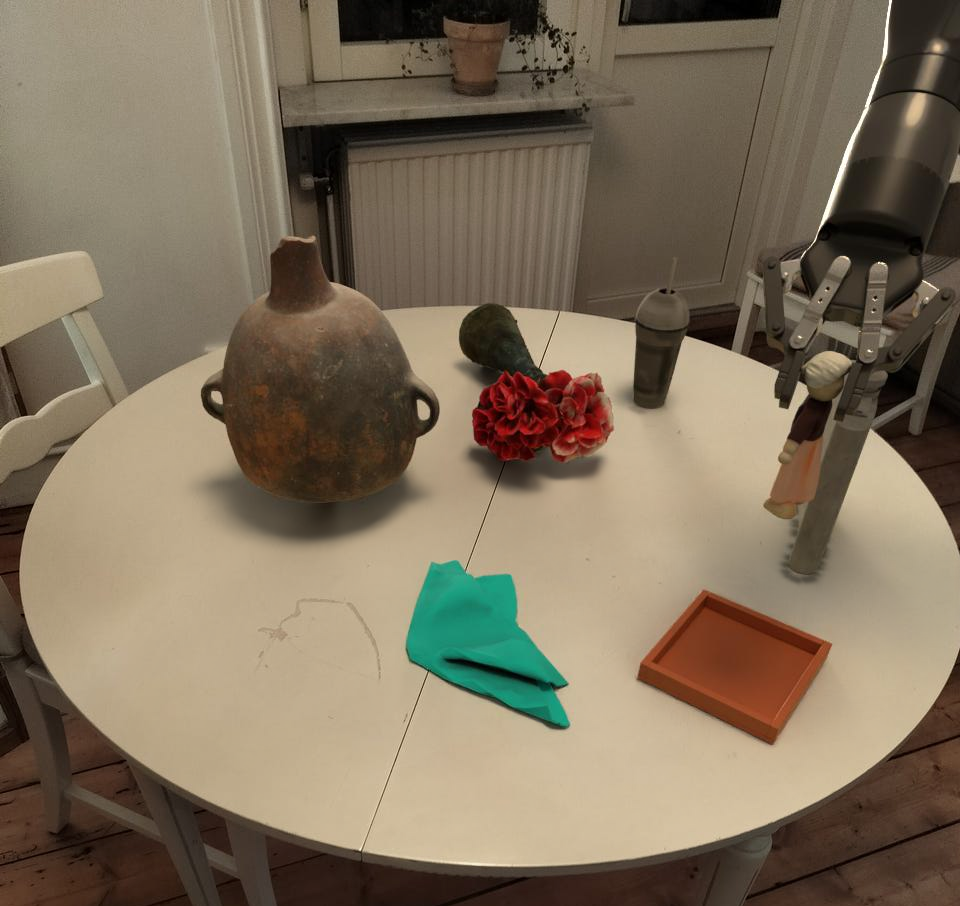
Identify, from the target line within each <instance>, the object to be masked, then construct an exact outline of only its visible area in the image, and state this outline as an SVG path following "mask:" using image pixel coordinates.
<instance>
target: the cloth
mask: <svg viewBox="0 0 960 906" xmlns="http://www.w3.org/2000/svg"><path fill="white" fill-rule="evenodd" d="M516 591H517V590H516V586H515V583H514V579H513V577H512V574H509V573H501V574H488V575H481V576H477V577H474V575H473V574H471V573H470V574H468V573H467V572H466V570H465V568H464V567H463V566H462V564H461V563H460V561H459V560H457V559H455V560H454V559H453V560H450V561H447V562H443V563H437V562H433V561H431V562H430V564H429V567H428V570H427V573H426V576H425V578H424V581H423V584H422V586H421V589H420V592H419V595H418V597H417V600H416V603H415V606H414V610H413V613H412V616H411V620H410V624H409V628H408V632H407V636H406V645H405V646H406V649H407V653H408V656H409V660H411V661H412V662H415V663H416V662H417V663H416V664H418V665H420V666H421V665H422V666H421V667H423V668H425V669H427V668H428V669H429V670H428V669H427V670H428V671H430V670H431V671H430V672H431V673H433V674H435V675H437V676H439V677H440V678H442V679H444V680H447V681H449V682H452V683H454V684H457V685H460V686H462V687H464V688H467V689H470V690H472V691H474V692H476V693H478V694H481V695H485V696H488V697H491V698H493V699H494V698H495V699H497V700H499V701H500V702H502V703H504V704H506V705H508V706H509V707H511V708H513V709H516V710H519V711H522V712H523V713H526V714H529V715H531V716H534V717H538V718H540V719H541V720H545V721H547V722H550V723H553V724H556V725H558V726H561V727H563V728H568V727H570V726H571V723H570V720H569V717H568V715H567V713H566V710H565V708H564V707H563V705H562V703H561V701H560V699H559V697H558V696H557V694H556V692H555V690H554V688H553V687H552V685H554V686H555V687H557V688H559V687H564V686H568V685H570V683H569V682H568V680H566V678H565V677H564V676H563V675H562V674H561V673H560V671H558V669H557V668H556V667H555V666H554V664H553V663H551V661H550V660H549V659H548V658H547V657H546V656H545V654H544V653H543V652H542V651H541V650H540V649H539V647H538V646H537V645H536V644H535V642H534V641H533V640H532V638H531V636H529V634H528V633H527V632H526V631H525V630H524V629H522V628H521V627H519V623H518V622H517V615H518V597H517V592H516ZM551 684H552V685H551Z"/></svg>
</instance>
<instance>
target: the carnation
mask: <svg viewBox="0 0 960 906" xmlns="http://www.w3.org/2000/svg"><path fill="white" fill-rule="evenodd" d="M458 344H459V348H460V350H461V353H462V354H463V355H464V356H465V357H466V358H467V359H468V360H470V362H472V363H474V364H476V365H480V366H483V367H486V368H489V369H491V370H494V371H496V372H502V374H501V375H500V376H499V377H498V379H497V380H496V382H494V383H490V384H489V385H486V386H485V387H484V388H483V389H482V391H481V392H480V395H479V397H478V403H477V406H476V407H474V408H473V409H472V411H471V412H472V413H471V416H472V420H471V422H472V428H473V429H472V431H473V441H475V443H476V444H477V445H478V446H479V447H487V449H488V450H489V451H491V452H492V453H493V454H495V455H496V457H497V458H498V459H499V460H500V461H502V462H509V461H510V460H514V459H517V460H522V461H524V462H528V461H530V460H534V459H538V457H537V456H536V453H538V452H540V451H541V450H542V449H543V448H549V449H550V453H551V455H552V457H553V458H554V459H555V461H557V462H560V463H563V464H564V463H568V462H570V461H572V460H574V459H576V458H578V457H579V458H580V457H582V456H584V457H590V456H593V455H594V454H595V453H596V452H597V451H598V450H600V449H601V448H603V447H604V446H605V444H606V443H607V442H608V439H609V436H610V435H611V433H613V432H614V430H615V426H614V419H615V418H614V413H613V405H612V401H611V399H610V397H609V396H607V394H606V393H605V388H604V384H603V381H602V377H601V375H599V373H598V372H589V373H587V374H585V375H580V376H575V377H572V376H571V374H570V373H569V372H567V370H564V369H560V370H557V371H552V372H551V371H550V372H549V373H548V374H547V373H545V372H544V371H543V370H542V369H541V368H540V367H538V366H537V365H536V364H535V361H534V360H533V358H532V355H531V353H530V350H529V348H528V346H527V344H526V341H525V338H524V337H523V335H522V332H521V330H520V328H519V325H518V319H516V318H515V317H514V315H513V313H512V312H511V310H510V309H508V308H507V307H506V306H505V305H503V304H499V303H494V302H485V303H483V304H481V305H479V306H477V307H476V308H474V309H472V310H471V311H469V312H468V313H467V315H465V316H464V318H463V319H462V321H461V323H460V327H459V330H458Z"/></svg>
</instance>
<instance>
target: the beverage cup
mask: <svg viewBox="0 0 960 906" xmlns="http://www.w3.org/2000/svg"><path fill="white" fill-rule="evenodd" d="M677 263H678V257H673V258H672V262H671V268H670V273H669V276H668V277H669V278H668V282H667V287H662V288H657V289H655V290H652V291H651V292H650V293H648V294H646V296H645V297H644V298H643V299H642V301H641V302H640V303H639V306H638V307H637V310H636V314H635V316H634V323H635V324H634V329H635V349H634V350H635V351H634V364H633V381H632V402H633V403H634V404H635V405H637V406H638V407H641V408H644V409H658V408H662V407H663V406H664V405H665V403H666V399H667V396H668V393H669V391H670V387H671V383H672V379H673V377H674V373H675V368H676V365H677V363H678V359H679V354H680V352H681V351H680V350H681V347H682V344H683V341H684V339H685V337H686V334H687V332H688V329H689V327H690V325H691V324H690V323H691V322H690V309H689V305H688V302H687V300H686V298H685V297H684V296H683V294H681V293H680V292H678V291H677V290H676V289H673V288H672V286H673V282H674V276H675V271H676V267H677Z"/></svg>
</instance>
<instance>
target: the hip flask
mask: <svg viewBox="0 0 960 906" xmlns="http://www.w3.org/2000/svg"><path fill="white" fill-rule="evenodd" d="M849 360H850V361H851V363H853V362H854V363H855V362H856V359H849ZM848 374H849V373H848ZM848 374H846V375H845V376H844V386H845V383H846V380H847V377H848ZM888 377H889V375H888V372H887V371H886V370H885V371H877V372H875V373H873V374H872V375H871V376H870V377H869V379H868V382H867V385H866V387H865V390H864V393H863V396H862V399H861V402H860V405H859V407H858V410H857V411H856V412H855V414H854V415H853V416H851V415H846V414H845V417H844V420H843V422H840V421H836V420H833V419H834V415H835V412H836V409H837V406H838V403H839V400H840V397H841V394H842V391H843V389H842V391H841V393H840V394H839V395H838V396H837V397H836V398H834V399H832V409H831V412H830V415H829V417H828V420H827V423H826V425H825V430H824V433H823V447H822V454H821V466H820V473H819V479H818V485H817V489H816V493H815V497H814V499H813V500H811V501H809V502H806V503H804V504H801V505H796V508H797V514H798V530H797V534H796V537H795V540H794V543H793V545H792V549H791V551H790V554H789V558H788V560H787V564H788V567H789V568H790V569H791V570H793V571H794V572H796V573H798V574H801V575H802V574H803V575H811V574H814V573H816V572H818V569H819V567H820V566H821V563H822V560H823V558H824V556H825V553H826V550H827V547H828V544H829V542H830V539H831V536H832V533H833V530H834V528H835V525H836V522H837V520H838V517H839V515H840V512H841V509H842V506H843V503H844V500H845V498H846V495H847V493H848V490H849V487H850V484H851V482H852V479H853V476H854V473H855V471H856V468H857V465H858V463H859V459H860V458H861V454H862V452H863V449H864V446H865V445H866V442H867V441H866V440H867V438H868V435H869V433H870V430H871V427H872V424H873V422H874V420H875V416H876V413H877V408H878V400H879V399H878V398H879V397H878V396H879V395H880V392H881V390H882V387H883V386H885V385H886V382H887V380H888ZM843 388H844V387H843Z"/></svg>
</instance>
